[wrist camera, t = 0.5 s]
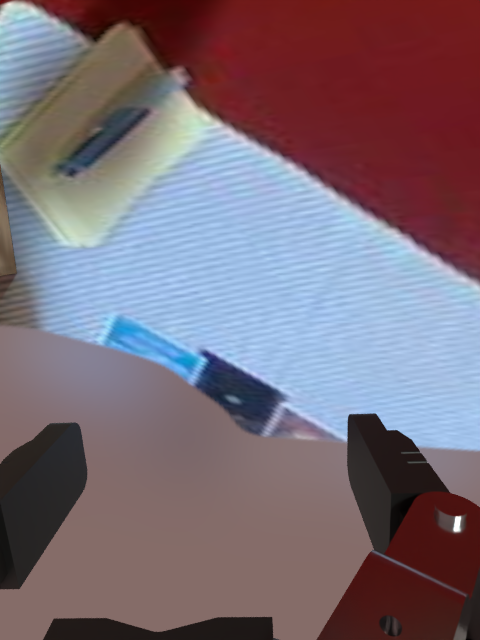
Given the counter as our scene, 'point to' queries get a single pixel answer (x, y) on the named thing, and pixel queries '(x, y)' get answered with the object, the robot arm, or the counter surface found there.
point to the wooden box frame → (5, 237)
